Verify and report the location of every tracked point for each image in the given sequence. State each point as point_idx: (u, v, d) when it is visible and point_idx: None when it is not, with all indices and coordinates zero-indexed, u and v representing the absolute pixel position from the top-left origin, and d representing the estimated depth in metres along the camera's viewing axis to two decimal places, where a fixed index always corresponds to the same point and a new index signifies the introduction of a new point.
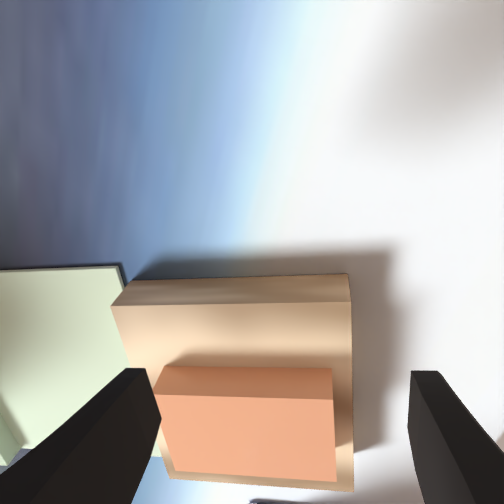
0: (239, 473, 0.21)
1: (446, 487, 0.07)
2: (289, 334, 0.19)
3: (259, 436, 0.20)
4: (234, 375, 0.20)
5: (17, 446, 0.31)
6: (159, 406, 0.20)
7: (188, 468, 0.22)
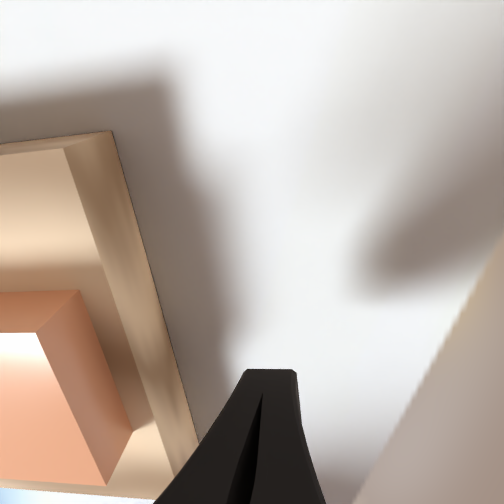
0: None
1: None
2: None
3: None
4: None
5: None
6: None
7: None
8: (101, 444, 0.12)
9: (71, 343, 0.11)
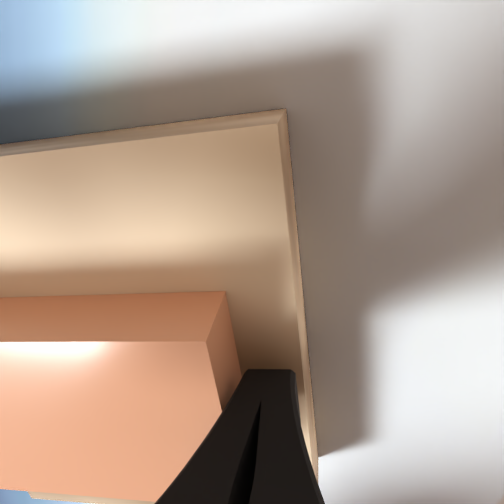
0: (77, 492, 0.12)
1: None
2: (164, 216, 0.09)
3: (88, 423, 0.10)
4: (45, 308, 0.10)
5: None
6: None
7: None
8: None
9: (223, 352, 0.10)
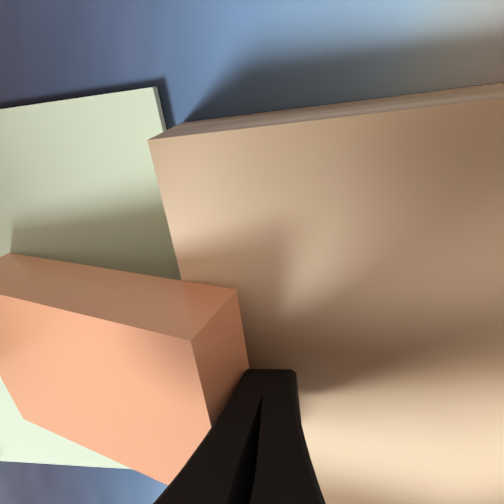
0: (93, 448, 0.13)
1: None
2: None
3: (98, 391, 0.11)
4: (77, 276, 0.11)
5: None
6: None
7: (34, 419, 0.14)
8: None
9: (221, 353, 0.09)
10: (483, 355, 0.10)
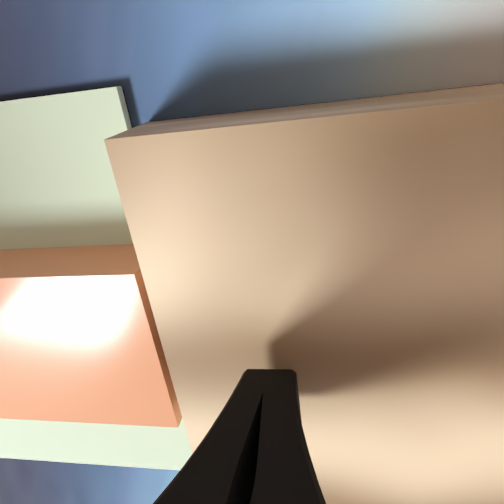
0: (41, 417, 0.14)
1: None
2: None
3: (47, 351, 0.12)
4: (12, 256, 0.13)
5: None
6: None
7: None
8: None
9: None
10: (438, 356, 0.10)
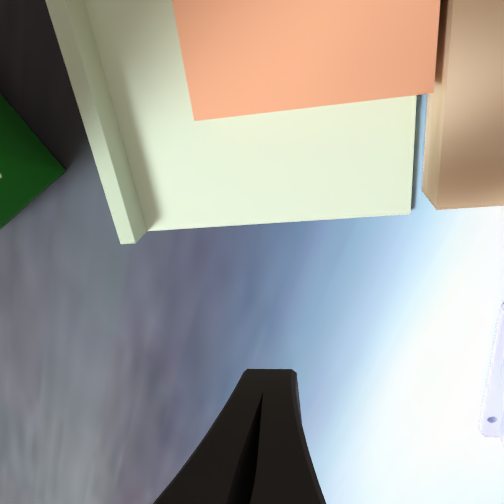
0: (287, 105, 0.15)
1: None
2: None
3: (323, 3, 0.13)
4: None
5: (144, 224, 0.20)
6: None
7: (213, 110, 0.15)
8: None
9: None
10: None
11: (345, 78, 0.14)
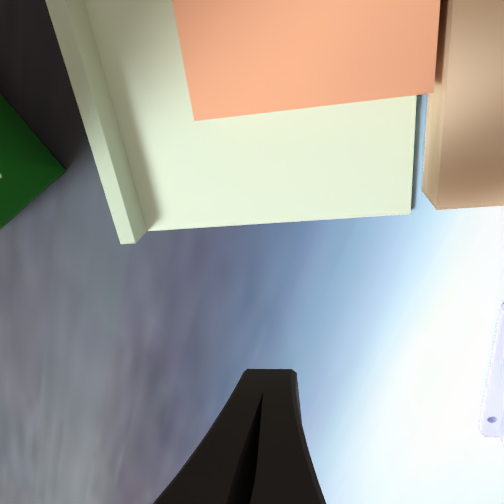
0: (287, 105, 0.15)
1: None
2: None
3: (323, 3, 0.13)
4: None
5: (143, 224, 0.20)
6: None
7: (213, 110, 0.15)
8: None
9: None
10: None
11: (345, 78, 0.14)
